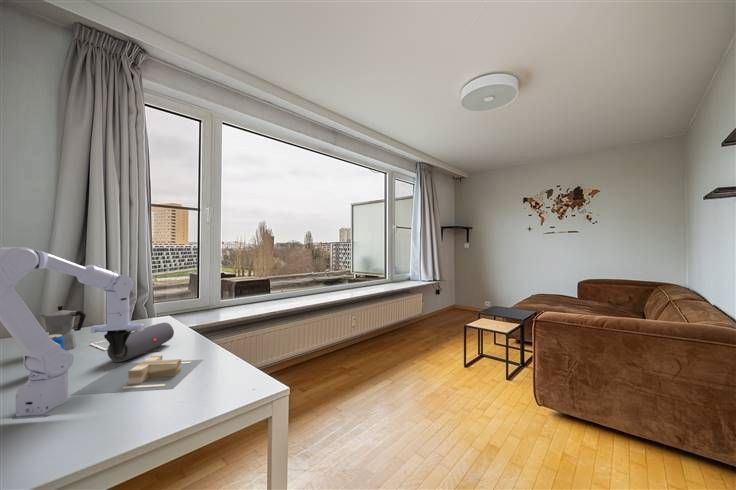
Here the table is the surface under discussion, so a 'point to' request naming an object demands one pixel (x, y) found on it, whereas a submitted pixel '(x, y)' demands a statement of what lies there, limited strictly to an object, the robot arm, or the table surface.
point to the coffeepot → (64, 325)
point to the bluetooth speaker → (143, 341)
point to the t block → (153, 369)
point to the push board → (119, 383)
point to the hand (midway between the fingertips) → (118, 353)
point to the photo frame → (99, 346)
